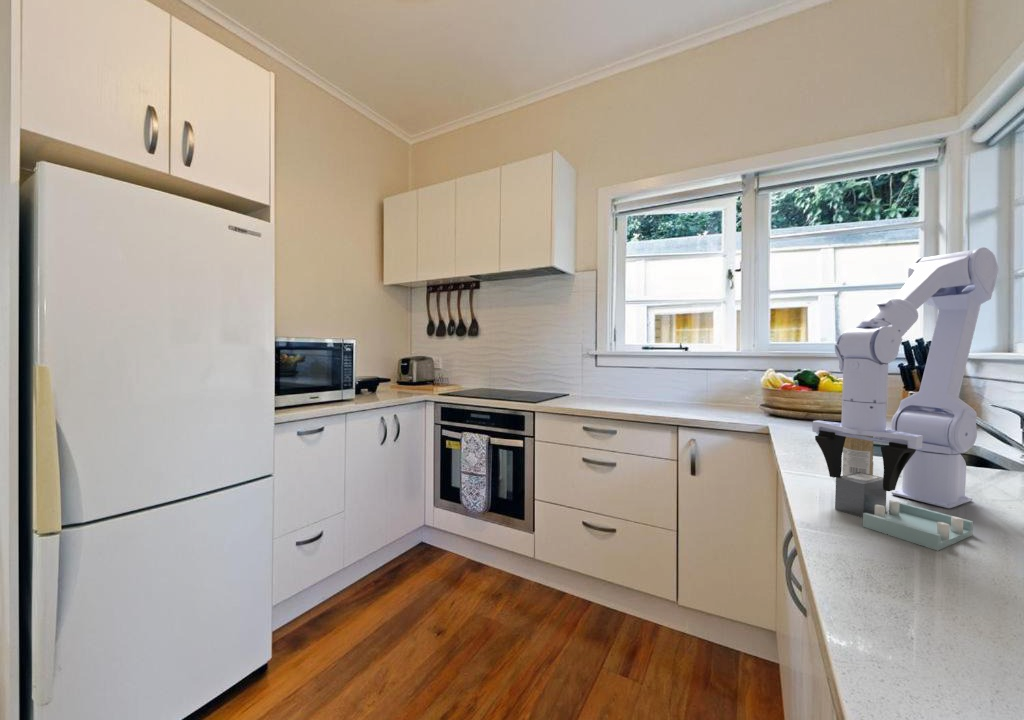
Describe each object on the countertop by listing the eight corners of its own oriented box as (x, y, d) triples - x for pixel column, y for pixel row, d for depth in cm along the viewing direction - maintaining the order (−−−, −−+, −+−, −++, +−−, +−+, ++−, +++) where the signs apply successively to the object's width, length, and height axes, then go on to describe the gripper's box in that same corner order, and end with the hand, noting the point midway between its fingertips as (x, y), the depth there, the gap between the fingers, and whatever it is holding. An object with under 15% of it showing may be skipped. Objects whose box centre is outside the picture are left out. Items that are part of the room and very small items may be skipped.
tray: (899, 514, 70) (899, 497, 70) (972, 535, 62) (973, 515, 62) (862, 526, 65) (863, 508, 65) (937, 550, 57) (938, 529, 57)
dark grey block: (857, 503, 75) (858, 471, 75) (885, 511, 71) (886, 477, 71) (835, 509, 72) (835, 476, 72) (863, 518, 68) (864, 483, 68)
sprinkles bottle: (876, 495, 79) (879, 422, 78) (867, 500, 76) (869, 424, 76) (846, 488, 82) (848, 418, 82) (836, 492, 80) (838, 420, 79)
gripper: (803, 397, 76) (800, 473, 76) (907, 408, 63) (904, 500, 63) (826, 395, 79) (823, 469, 79) (930, 405, 66) (926, 493, 66)
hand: (860, 482), depth 71 cm, fingers open, 7 cm apart
